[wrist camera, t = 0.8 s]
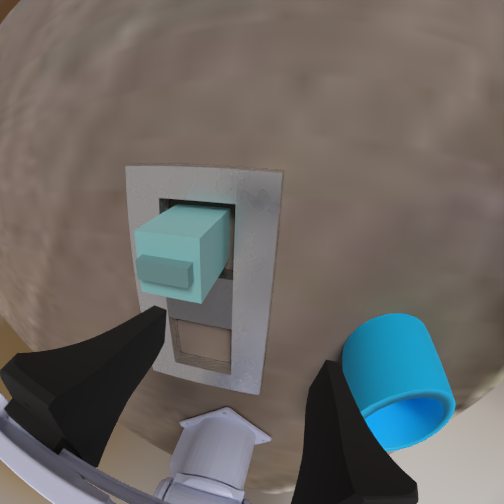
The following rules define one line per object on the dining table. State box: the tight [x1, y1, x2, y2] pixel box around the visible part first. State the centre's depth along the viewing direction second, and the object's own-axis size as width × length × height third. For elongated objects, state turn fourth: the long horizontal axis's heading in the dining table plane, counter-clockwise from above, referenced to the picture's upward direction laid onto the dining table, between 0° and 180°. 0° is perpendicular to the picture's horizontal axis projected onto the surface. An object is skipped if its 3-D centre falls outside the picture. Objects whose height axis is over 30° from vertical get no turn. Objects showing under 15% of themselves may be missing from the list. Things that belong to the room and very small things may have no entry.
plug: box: [134, 204, 230, 304], centre depth 18 cm, size 4×4×7 cm
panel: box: [126, 163, 284, 395], centre depth 23 cm, size 20×11×2 cm, turn 177°
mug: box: [342, 313, 456, 451], centre depth 19 cm, size 12×8×8 cm
